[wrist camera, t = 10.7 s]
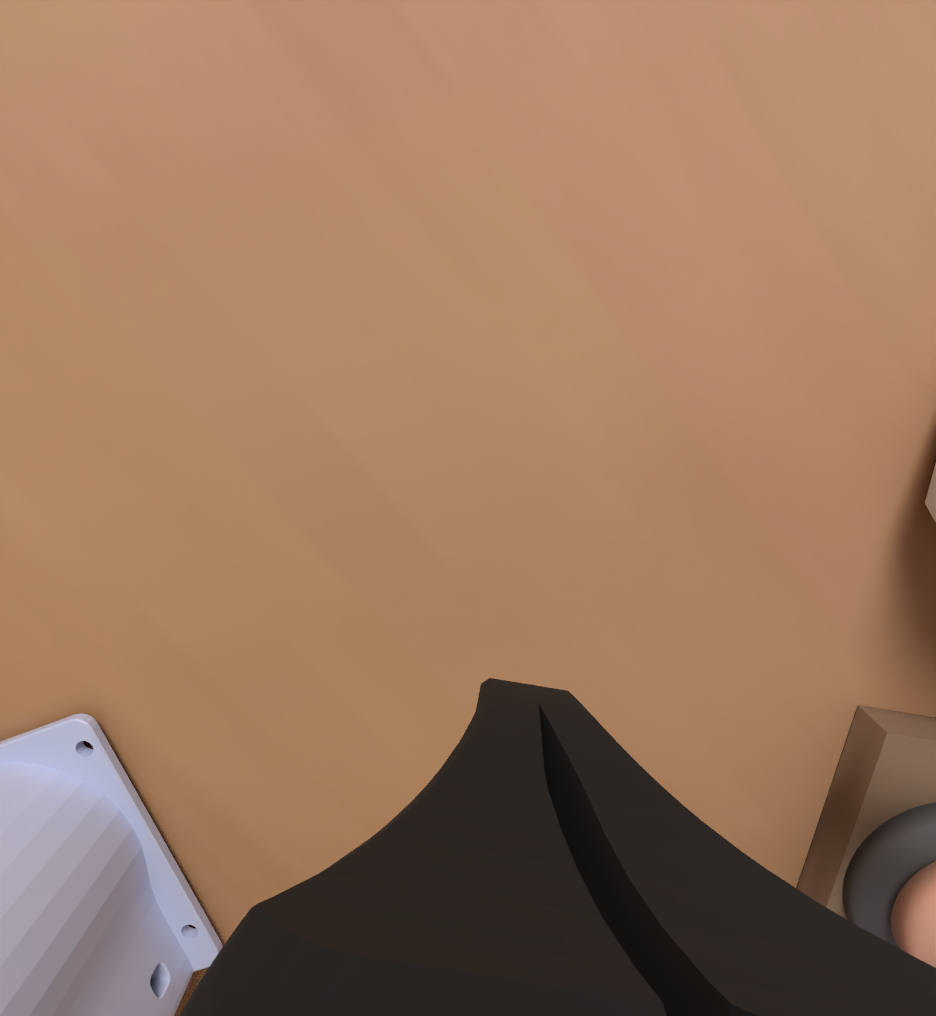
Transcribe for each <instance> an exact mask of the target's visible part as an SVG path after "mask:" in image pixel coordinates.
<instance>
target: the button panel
mask: <svg viewBox="0 0 936 1016" xmlns="http://www.w3.org/2000/svg"><path fill="white" fill-rule="evenodd" d="M935 861H936V718H931V717H925V716H919V715H913V714H907V713H901V712H895V711H889V710H882V709H876V708H870V707H864V706H858V708H857V711H856V714H855V717H854V720H853V723H852V726H851V729H850V732H849V735H848V738H847V741H846V744H845V746H844V749H843V752H842V755H841V758H840V761H839V764H838V767H837V770H836V773H835V776H834V779H833V782H832V785H831V788H830V791H829V794H828V797H827V800H826V803H825V806H824V809H823V812H822V815H821V818H820V821H819V824H818V827H817V830H816V833H815V836H814V839H813V841H812V844H811V847H810V850H809V853H808V856H807V859H806V862H805V865H804V868H803V871H802V874H801V877H800V880H799V883H798V886H797V889H798V890H799V891H801V892H802V893H804V894H806V895H807V896H809V897H810V898H812V899H813V900H815V901H816V902H818V903H820V904H821V905H823V906H825V907H826V908H828V909H830V910H831V911H833V912H835V913H837V914H838V915H840V916H842V917H843V918H845V919H847V920H848V921H850V922H852V923H854V924H855V925H857V926H859V927H861V928H862V929H864V930H866V931H868V932H870V933H872V934H873V935H875V936H877V937H879V938H881V939H883V940H884V941H886V942H888V943H890V944H892V945H894V946H895V947H897V948H899V947H898V945H897V943H896V942H895V939H894V937H893V934H892V929H891V914H892V909H893V905H894V902H895V900H896V898H897V896H898V894H899V892H900V891H901V889H902V888H903V887H904V885H905V884H906V883H907V882H908V880H910V879H911V878H912V877H913V876H914V875H915V874H916V873H917V872H919V871H920V870H921V869H923V868H924V867H926V866H928V865H929V864H931V863H933V862H935ZM899 949H900V948H899Z"/></svg>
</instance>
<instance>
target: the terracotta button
mask: <svg viewBox="0 0 936 1016" xmlns="http://www.w3.org/2000/svg"><path fill="white" fill-rule="evenodd" d="M891 929H892V934H893V937H894V939H895V942H896V943H897V945H898V947H899V948H900V949H901V950H903V951H905V952H906V953H908V954H910V955H912V956H914V957H916V958H918V959H920V960H921V961H923V962H925V963H927V964H929V965H931V966H933V967H935V968H936V861H935V862H933V863H931V864H929V865H928V866H926V867H924V868H923V869H921V870H920V871H919V872H917V873H916V874H915V875H914V876H913V877H912V878H911V879H910V880H908V882H907V883H906V884H905V885H904V887H903V888H902V889H901V891H900V892H899V894H898V896H897V898H896V900H895V902H894V905H893V909H892V914H891Z"/></svg>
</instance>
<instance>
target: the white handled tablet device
mask: <svg viewBox="0 0 936 1016" xmlns="http://www.w3.org/2000/svg"><path fill="white" fill-rule="evenodd" d="M925 505H926V506H927V508H928V510H929V512H930V514H931V515H932V517H933V519H934V521H935V523H936V464H935V467H934V471H933V475H932V478H931V482H930V486H929V490H928V493H927V497H926V501H925Z"/></svg>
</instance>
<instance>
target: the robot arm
mask: <svg viewBox="0 0 936 1016" xmlns="http://www.w3.org/2000/svg"><path fill="white" fill-rule="evenodd" d="M83 741H87V742H89V743H90V744H91V745H92V746H93V749H90V748H87V747H86V746H85V745H84V743H83ZM189 925H192V926H194V927H195V928H192V927H190V926H189ZM207 967H209V968H208V970H207V971H206V973H205V974H204V976H203V977H202V979H201V980H200V982H199V984H198V985H197V987H196V989H195V990H194V992H193V994H192V995H191V997H190V999H189V1001H188V1002H187V1004H186V1006H185V1007H184V1009H183V1011H182V1012H181V1014H180V1016H936V968H935V967H933V966H931V965H929V964H927V963H925V962H923V961H921V960H920V959H918V958H916V957H914V956H912V955H910V954H908V953H906V952H905V951H903V950H901V949H899V948H897V947H895V946H894V945H892V944H890V943H888V942H886V941H884V940H883V939H881V938H879V937H877V936H875V935H873V934H872V933H870V932H868V931H866V930H864V929H862V928H861V927H859V926H857V925H855V924H854V923H852V922H850V921H848V920H847V919H845V918H843V917H842V916H840V915H838V914H837V913H835V912H833V911H831V910H830V909H828V908H826V907H825V906H823V905H821V904H820V903H818V902H816V901H815V900H813V899H812V898H810V897H809V896H807V895H806V894H804V893H802V892H801V891H799V890H798V889H796V888H795V887H793V886H792V885H790V884H789V883H787V882H785V881H784V880H782V879H781V878H779V877H778V876H776V875H775V874H773V873H772V872H770V871H768V870H767V869H766V868H764V867H763V866H761V865H760V864H758V863H757V862H756V861H754V860H753V859H751V858H750V857H748V856H747V855H746V854H744V853H743V852H741V851H740V850H739V849H737V848H736V847H735V846H734V845H732V844H731V843H730V842H728V841H727V840H726V839H724V838H723V837H722V836H721V835H719V834H718V833H717V832H715V831H714V830H713V829H711V828H710V827H709V826H708V825H706V824H705V823H704V822H702V821H701V820H700V819H699V818H698V817H696V816H695V815H694V814H693V813H691V812H690V811H689V810H688V809H687V808H686V807H684V806H683V805H682V804H681V803H680V802H679V801H678V800H677V799H675V798H674V797H673V796H672V795H671V794H670V793H669V792H668V791H667V790H665V789H664V788H663V787H662V786H661V785H660V784H659V783H658V782H657V781H656V780H654V779H653V778H652V777H651V776H650V775H649V774H648V773H647V772H646V771H645V770H644V769H643V768H642V767H641V766H640V765H639V764H638V763H637V762H636V761H635V760H634V759H633V758H632V757H631V756H630V755H629V754H628V753H627V752H626V751H625V750H624V749H623V748H622V747H621V746H620V745H619V744H618V743H617V742H616V741H615V740H614V738H613V737H612V736H611V735H610V734H609V733H608V732H607V731H606V730H605V729H604V728H603V727H602V726H601V725H600V723H599V722H598V721H597V720H596V719H595V718H594V717H593V716H592V715H591V714H590V713H589V712H588V711H587V709H586V708H585V707H584V706H583V705H582V704H581V703H580V702H579V701H578V700H577V699H576V698H575V697H574V696H573V695H572V694H571V693H570V692H568V691H566V690H559V689H553V688H547V687H541V686H535V685H529V684H523V683H517V682H510V681H504V680H498V679H492V678H489V679H488V680H486V681H485V682H483V683H482V684H481V687H480V693H479V698H478V703H477V708H476V712H475V714H474V717H473V718H472V720H471V722H470V724H469V726H468V728H467V730H466V731H465V733H464V735H463V737H462V739H461V740H460V742H459V743H458V745H457V746H456V748H455V749H454V750H453V752H452V753H451V755H450V756H449V758H448V759H447V760H446V762H445V763H444V765H443V766H442V767H441V769H440V770H439V771H438V773H437V774H436V775H435V776H434V777H433V779H432V780H431V781H430V782H429V783H428V785H427V786H426V787H425V788H424V789H423V790H422V791H421V792H420V793H419V794H418V795H417V796H416V798H415V799H414V800H413V801H412V802H411V803H410V804H409V805H408V806H407V807H405V808H404V809H403V810H402V811H401V812H400V813H399V814H398V815H397V816H396V817H395V818H394V819H393V820H391V821H390V822H389V823H388V824H387V825H386V826H385V827H384V828H382V829H381V830H380V831H379V832H378V833H376V834H375V835H374V836H373V837H371V838H370V839H369V840H367V841H366V842H364V843H363V844H362V845H360V846H359V847H357V848H356V849H354V850H353V851H352V852H350V853H349V854H347V855H346V856H344V857H343V858H341V859H340V860H339V861H337V862H336V863H334V864H333V865H331V866H330V867H329V868H327V869H325V870H324V871H322V872H321V873H319V874H317V875H315V876H313V877H311V878H310V879H308V880H306V881H304V882H302V883H300V884H298V885H296V886H294V887H292V888H290V889H288V890H286V891H284V892H282V893H280V894H278V895H276V896H274V897H272V898H270V899H267V900H265V901H263V902H261V903H258V904H257V905H255V906H254V907H252V908H251V909H250V910H249V912H248V913H247V914H246V916H245V917H244V918H243V920H242V921H241V922H240V924H239V925H238V926H237V928H236V929H235V931H234V932H233V933H232V935H231V936H230V938H229V939H228V940H227V942H226V943H225V945H224V946H222V943H221V941H220V939H219V937H218V936H217V934H216V932H215V930H214V929H213V927H212V925H211V923H210V921H209V920H208V918H207V916H206V914H205V913H204V911H203V909H202V907H201V905H200V904H199V902H198V900H197V898H196V897H195V895H194V893H193V891H192V890H191V888H190V886H189V884H188V882H187V881H186V879H185V877H184V875H183V874H182V872H181V870H180V868H179V866H178V865H177V863H176V861H175V859H174V858H173V856H172V854H171V852H170V851H169V849H168V847H167V845H166V843H165V842H164V840H163V838H162V836H161V835H160V833H159V831H158V829H157V827H156V826H155V824H154V822H153V820H152V819H151V817H150V815H149V813H148V812H147V810H146V808H145V806H144V804H143V803H142V801H141V799H140V797H139V796H138V794H137V792H136V790H135V788H134V787H133V785H132V783H131V781H130V780H129V778H128V776H127V774H126V773H125V771H124V769H123V767H122V765H121V764H120V762H119V760H118V758H117V757H116V755H115V753H114V751H113V749H112V748H111V746H110V744H109V742H108V741H107V739H106V737H105V735H104V734H103V732H102V730H101V728H100V726H99V725H98V723H97V722H96V721H95V719H94V718H92V717H91V716H89V715H87V714H82V713H80V714H75V715H72V716H69V717H66V718H64V719H61V720H58V721H55V722H53V723H50V724H47V725H44V726H42V727H39V728H36V729H33V730H31V731H28V732H25V733H23V734H20V735H17V736H14V737H12V738H9V739H6V740H3V741H1V742H0V1016H174V1015H175V1012H176V1010H177V1008H178V1006H179V1004H180V1001H181V999H182V997H183V995H184V992H185V990H186V988H187V986H188V983H189V981H190V979H191V977H192V974H193V972H195V971H198V970H201V969H204V968H207Z"/></svg>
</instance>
